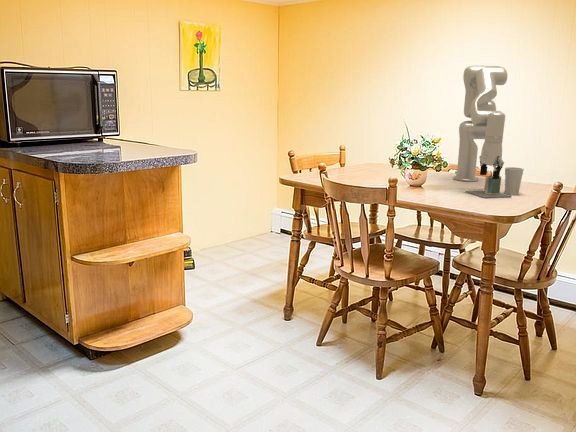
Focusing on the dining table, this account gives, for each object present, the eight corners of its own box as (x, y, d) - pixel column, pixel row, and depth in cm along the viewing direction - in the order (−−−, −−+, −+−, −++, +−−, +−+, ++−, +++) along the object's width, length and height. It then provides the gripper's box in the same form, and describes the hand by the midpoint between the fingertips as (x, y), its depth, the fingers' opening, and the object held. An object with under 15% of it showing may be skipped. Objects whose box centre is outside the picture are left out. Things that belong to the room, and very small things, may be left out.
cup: (508, 195, 247) (511, 169, 244) (499, 192, 254) (501, 167, 252) (524, 195, 248) (527, 169, 246) (513, 191, 256) (516, 167, 253)
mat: (465, 192, 253) (465, 190, 253) (491, 191, 256) (491, 190, 256) (484, 198, 239) (484, 197, 239) (511, 197, 242) (511, 196, 242)
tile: (485, 176, 246) (499, 176, 248) (483, 193, 248) (497, 192, 249) (488, 176, 244) (501, 176, 246) (486, 194, 246) (499, 193, 248)
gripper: (475, 137, 249) (471, 173, 254) (497, 142, 233) (493, 181, 238) (489, 137, 251) (485, 173, 256) (512, 142, 235) (508, 180, 239)
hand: (489, 176), depth 247 cm, fingers open, 9 cm apart
